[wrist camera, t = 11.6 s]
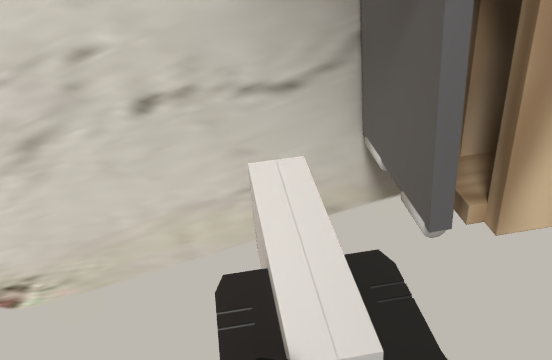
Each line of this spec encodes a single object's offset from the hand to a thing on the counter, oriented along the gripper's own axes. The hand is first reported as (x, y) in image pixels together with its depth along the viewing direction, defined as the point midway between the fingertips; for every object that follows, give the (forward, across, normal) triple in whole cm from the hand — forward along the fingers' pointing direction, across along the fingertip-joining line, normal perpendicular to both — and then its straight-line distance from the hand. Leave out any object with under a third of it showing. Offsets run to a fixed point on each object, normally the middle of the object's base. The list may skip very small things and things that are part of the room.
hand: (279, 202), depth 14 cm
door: (+20, +8, -2) cm, 21 cm away
